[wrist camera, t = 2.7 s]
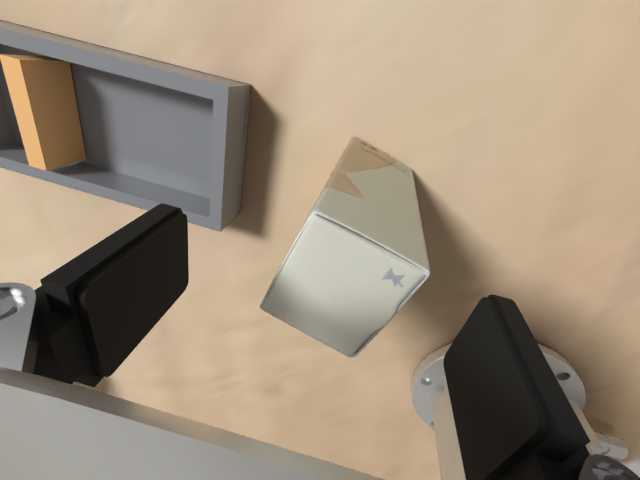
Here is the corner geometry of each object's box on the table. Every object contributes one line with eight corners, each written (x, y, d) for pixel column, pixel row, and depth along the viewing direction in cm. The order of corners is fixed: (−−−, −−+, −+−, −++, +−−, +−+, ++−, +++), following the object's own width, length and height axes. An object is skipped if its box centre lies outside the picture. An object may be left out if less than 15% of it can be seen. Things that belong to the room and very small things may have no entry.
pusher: (69, 61, 19) (19, 59, 16) (86, 159, 22) (46, 170, 20) (51, 56, 19) (-2, 54, 17) (71, 154, 22) (29, 165, 20)
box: (353, 133, 19) (316, 200, 9) (415, 169, 19) (442, 271, 9) (315, 203, 21) (254, 312, 12) (369, 234, 22) (353, 365, 12)
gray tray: (251, 84, 18) (228, 87, 16) (239, 213, 23) (220, 231, 20) (-21, 14, 20) (-83, 5, 17) (18, 149, 24) (-28, 159, 21)
